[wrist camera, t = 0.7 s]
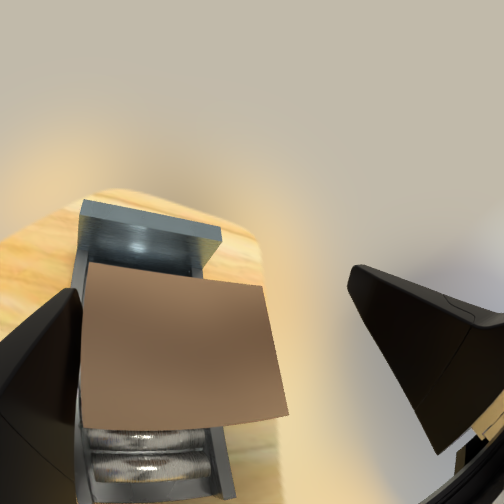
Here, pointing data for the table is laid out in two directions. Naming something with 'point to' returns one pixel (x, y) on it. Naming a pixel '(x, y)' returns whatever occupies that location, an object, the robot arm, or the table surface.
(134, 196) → the table surface
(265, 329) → the block
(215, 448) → the roller bed
